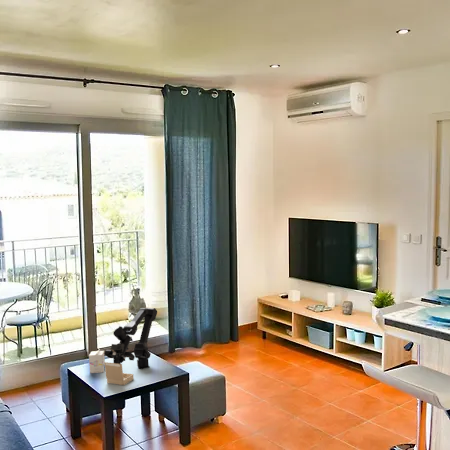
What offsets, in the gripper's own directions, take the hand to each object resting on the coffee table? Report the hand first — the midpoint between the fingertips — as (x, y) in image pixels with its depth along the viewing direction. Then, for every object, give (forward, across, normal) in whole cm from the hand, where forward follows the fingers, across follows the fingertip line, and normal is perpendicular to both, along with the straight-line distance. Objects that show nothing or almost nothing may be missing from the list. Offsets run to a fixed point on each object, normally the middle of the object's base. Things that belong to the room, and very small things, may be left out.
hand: (114, 368), depth 295 cm
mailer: (+3, 0, +11) cm, 11 cm away
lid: (+1, 0, +1) cm, 2 cm away
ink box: (-4, -26, +18) cm, 32 cm away
